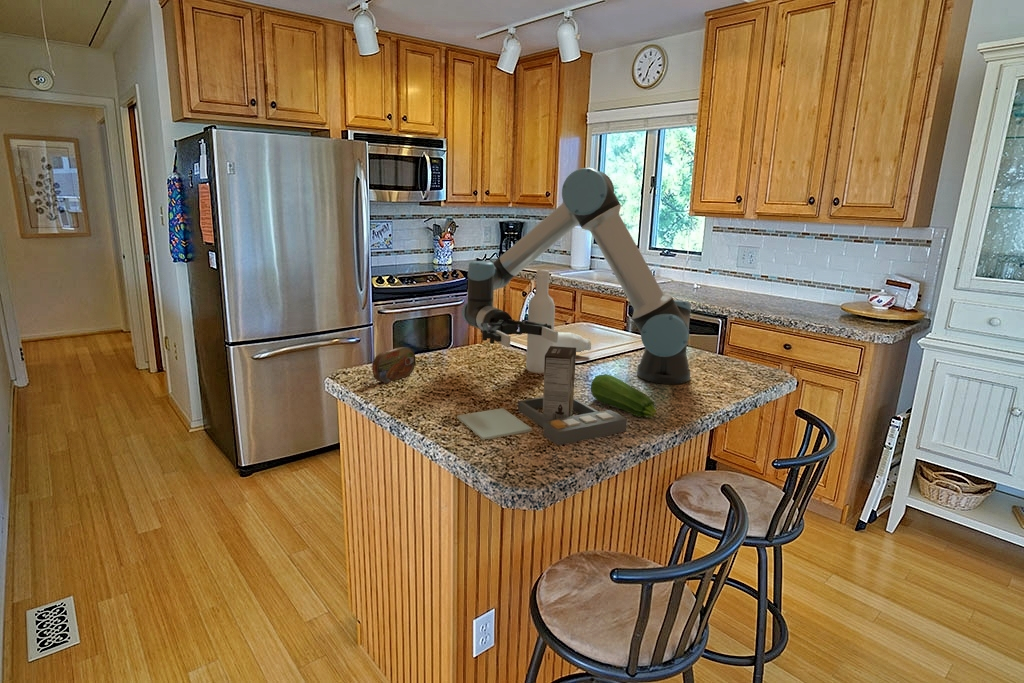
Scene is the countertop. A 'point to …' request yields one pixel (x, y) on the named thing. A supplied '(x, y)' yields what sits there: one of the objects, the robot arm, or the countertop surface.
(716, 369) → the countertop surface
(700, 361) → the countertop surface
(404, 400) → the countertop surface
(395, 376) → the tin
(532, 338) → the bottle
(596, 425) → the frame
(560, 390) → the coffee box
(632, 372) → the countertop surface
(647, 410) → the vegetable
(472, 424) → the sage mat
